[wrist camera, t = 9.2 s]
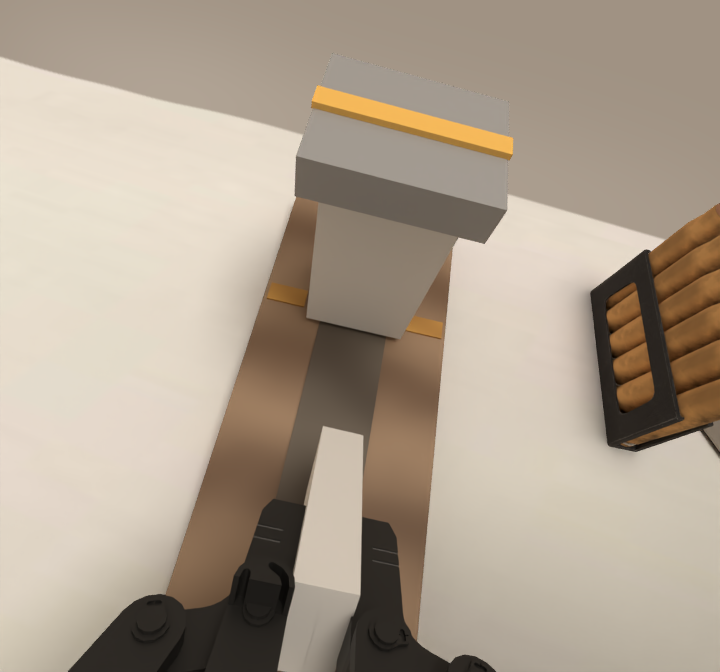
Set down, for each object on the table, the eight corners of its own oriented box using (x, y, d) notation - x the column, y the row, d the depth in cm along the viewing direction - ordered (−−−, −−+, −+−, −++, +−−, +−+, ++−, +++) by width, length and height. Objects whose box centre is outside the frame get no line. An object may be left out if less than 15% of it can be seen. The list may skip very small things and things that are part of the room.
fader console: (398, 683, 18) (412, 699, 16) (160, 641, 17) (145, 652, 16) (444, 242, 29) (455, 221, 27) (299, 206, 28) (300, 182, 27)
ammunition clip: (589, 291, 29) (762, 147, 19) (614, 297, 30) (800, 157, 19) (606, 446, 25) (854, 369, 14) (636, 452, 25) (904, 381, 14)
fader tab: (412, 352, 22) (512, 205, 13) (289, 324, 22) (294, 149, 12) (423, 271, 25) (513, 96, 15) (311, 244, 24) (331, 46, 15)
